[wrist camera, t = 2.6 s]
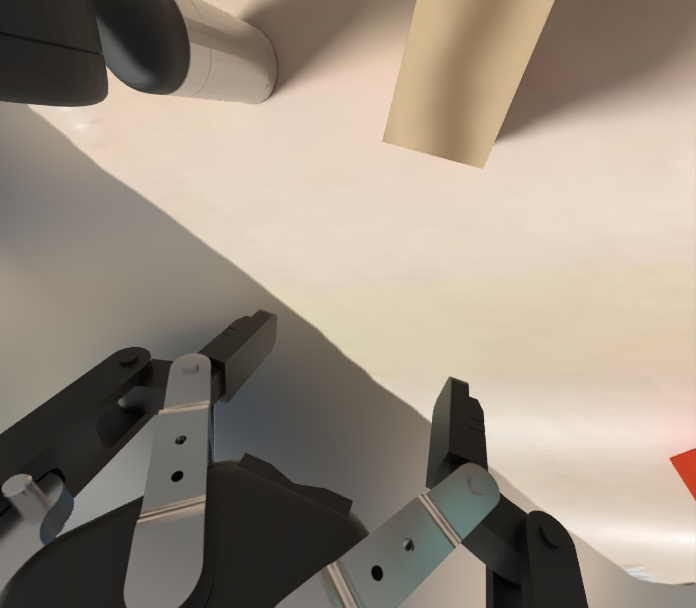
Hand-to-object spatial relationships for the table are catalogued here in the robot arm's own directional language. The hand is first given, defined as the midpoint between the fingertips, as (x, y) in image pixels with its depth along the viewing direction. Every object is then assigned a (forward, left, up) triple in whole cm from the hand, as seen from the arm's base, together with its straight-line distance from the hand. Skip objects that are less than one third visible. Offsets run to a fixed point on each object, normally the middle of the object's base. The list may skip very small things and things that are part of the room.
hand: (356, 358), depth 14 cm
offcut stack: (0, +13, -39) cm, 41 cm away
